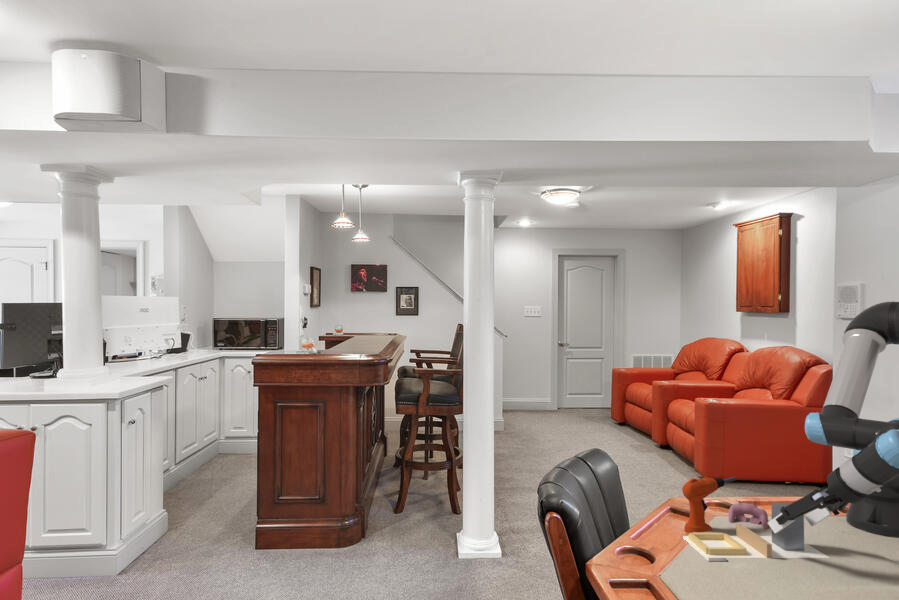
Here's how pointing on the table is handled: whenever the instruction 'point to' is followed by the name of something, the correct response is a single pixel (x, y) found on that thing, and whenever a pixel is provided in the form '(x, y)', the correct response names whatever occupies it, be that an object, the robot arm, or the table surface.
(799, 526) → the grey metal block
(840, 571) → the table surface
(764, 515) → the video game controller
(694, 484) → the toy drill
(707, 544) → the plate
